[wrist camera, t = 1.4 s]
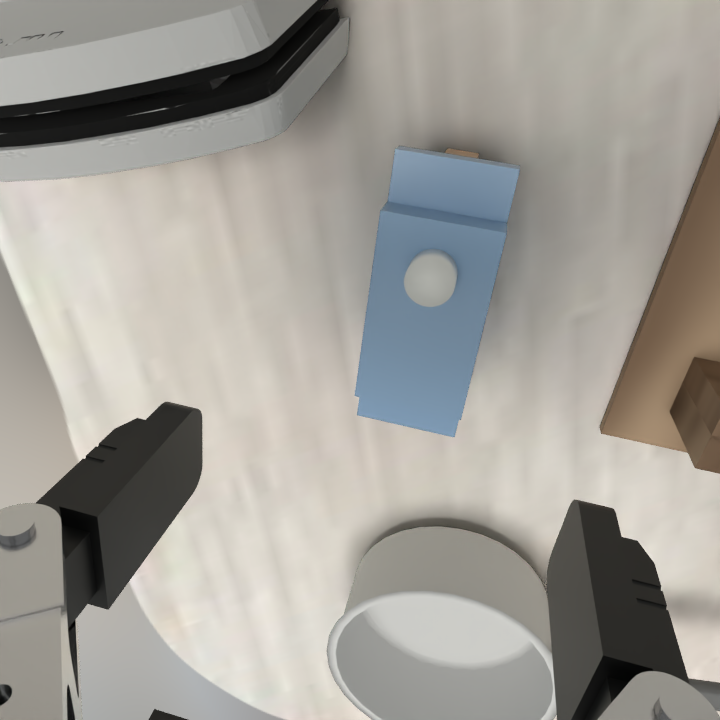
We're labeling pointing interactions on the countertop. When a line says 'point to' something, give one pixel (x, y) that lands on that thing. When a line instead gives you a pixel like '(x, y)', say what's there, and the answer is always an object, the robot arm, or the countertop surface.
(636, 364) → the cradle
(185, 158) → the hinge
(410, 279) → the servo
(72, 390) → the countertop surface
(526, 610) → the saucepan
